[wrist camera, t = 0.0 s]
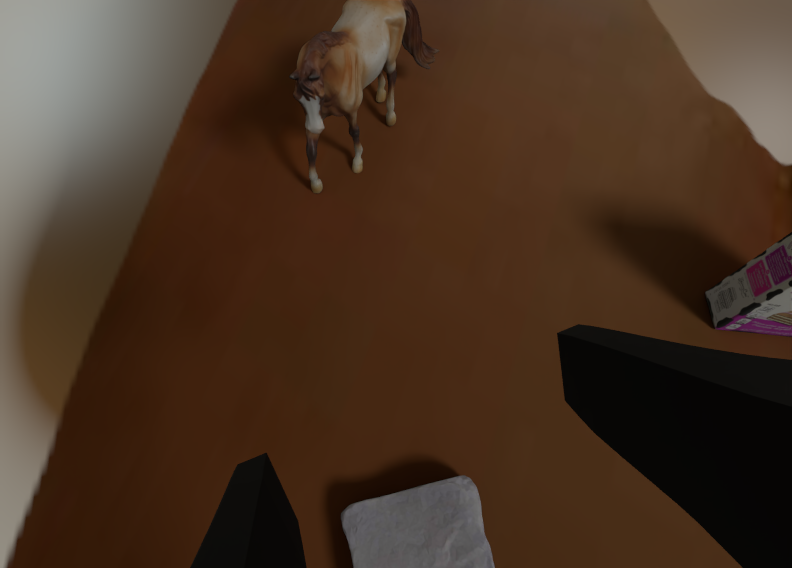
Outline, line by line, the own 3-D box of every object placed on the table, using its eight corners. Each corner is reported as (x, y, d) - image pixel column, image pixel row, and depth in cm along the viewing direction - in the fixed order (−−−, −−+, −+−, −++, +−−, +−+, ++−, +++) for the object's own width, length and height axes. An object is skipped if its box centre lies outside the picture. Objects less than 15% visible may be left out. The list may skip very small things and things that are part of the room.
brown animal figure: (335, 230, 52) (307, 77, 34) (282, 208, 54) (229, 50, 36) (435, 86, 66) (454, -77, 48) (391, 71, 68) (392, -91, 50)
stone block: (499, 588, 36) (465, 465, 39) (516, 612, 32) (476, 471, 35) (363, 630, 35) (339, 500, 38) (360, 661, 31) (333, 511, 33)
